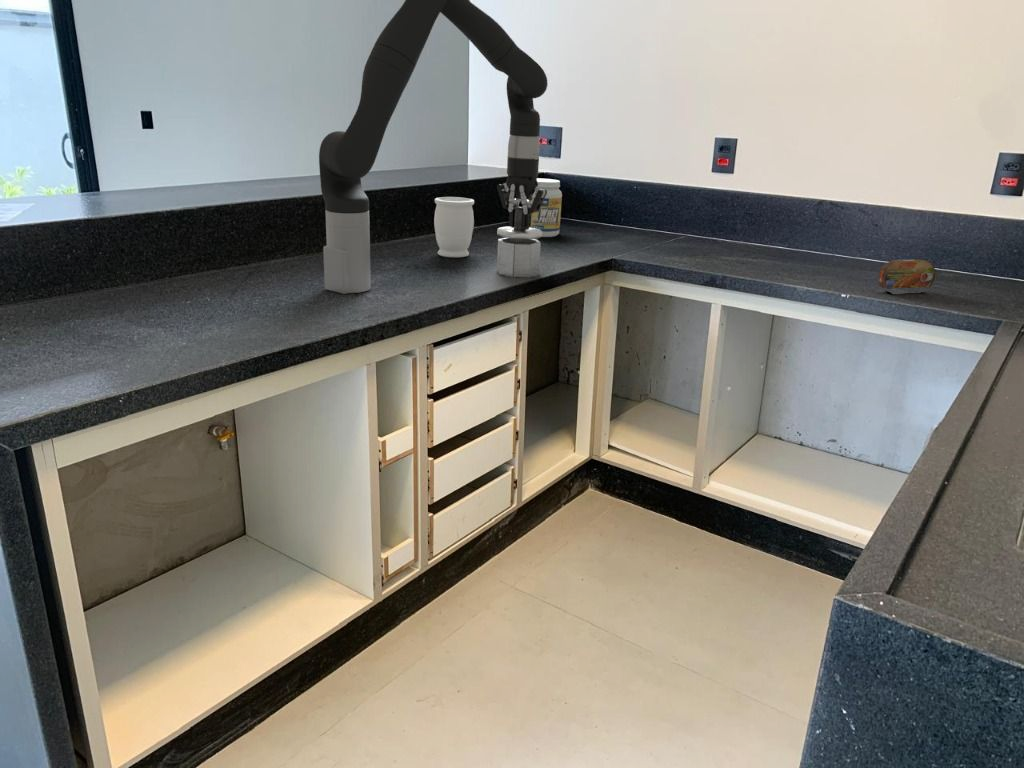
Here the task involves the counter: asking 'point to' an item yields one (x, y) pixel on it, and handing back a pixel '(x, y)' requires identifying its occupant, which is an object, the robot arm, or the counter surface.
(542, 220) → the supplement tub
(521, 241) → the pot
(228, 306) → the counter surface
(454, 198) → the jar
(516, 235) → the lid
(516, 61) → the robot arm
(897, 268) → the tin
